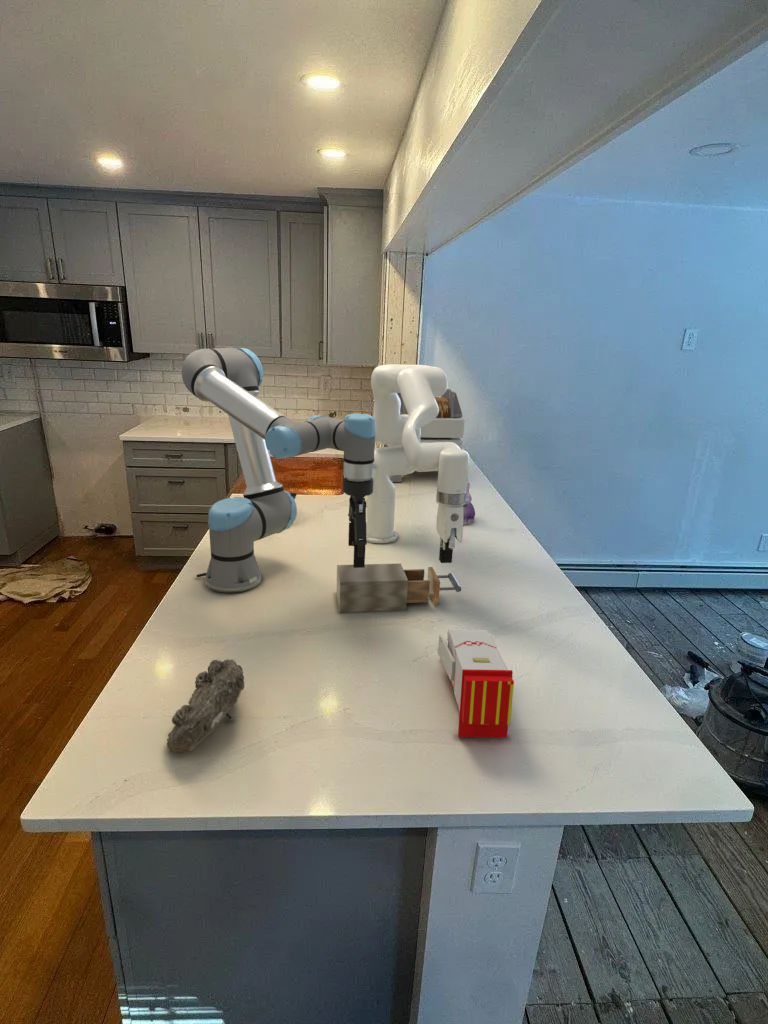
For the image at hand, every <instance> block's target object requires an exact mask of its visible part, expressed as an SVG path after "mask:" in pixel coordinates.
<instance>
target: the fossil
mask: <svg viewBox="0 0 768 1024" xmlns="http://www.w3.org/2000/svg"><path fill="white" fill-rule="evenodd" d="M243 670H244V669H243V667H242V665H240V664H237V662H236V661H235V660H234V659H232V658H231V659H227V658H226V659H224V660H223V661H222V660H217V659H212V660H211V661H210V663H209V665H208V666H207V671H201V672H199V673H198V674H197V675H196V676H195V680H194V684H195V685H194V687H195V689H194V690H193V693H192V694H191V697H190V698H189V700H188V704H184V705H182V706H181V707H180V709H177V710H176V711H175V713H174V715H173V716H172V718H171V723H172V724H173V727H172V730H171V731H170V732H168V734H167V738H166V741H167V742H166V745H167V749H168V750H169V751H173V752H174V753H176V754H178V753H182V752H188V751H189V752H192V751H193V750H195V748H196V747H197V746H199V744H200V743H201V742H203V741H204V740H205V739H206V738H207V737H208V736H209V735H210V734H211V733H212V732H214V730H215V729H217V727H218V726H219V724H220V722H221V721H222V720H223V719H224V718H225V716H226V717H227V719H229V720H233V717H232V715H230V714H229V710H230V709H231V708H234V706H235V704H236V703H237V702H238V699H239V697H240V695H241V693H242V691H243V690H245V689H244V688H245V675H244V671H243Z"/></svg>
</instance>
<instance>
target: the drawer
mask: <svg viewBox="0 0 768 1024" xmlns="http://www.w3.org/2000/svg"><path fill="white" fill-rule="evenodd" d="M403 570H404V572H405V575H406V577H407V579H408V588H407V603H406V604H413V603H429V600H430V599H431V601H432V603H433V605H439V603H440V592H441V591H455V593H460V592H461V591H462V586H461V585H460V583H459V581H458V579H457V578H456V576H455V575H454V573H453V572H449V573H448V574H440V575H438V574H437V573H436V571H435V569H434V567H433V566H428V568H427V577H426V579H425V569H424V568H417V569H415V568H414V569H413V568H412V569H403ZM440 579H448V581H449V582H450V584H451V587H449V586H448V587H445V586H444V587H441V580H440ZM429 598H430V599H429Z"/></svg>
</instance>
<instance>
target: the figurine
mask: <svg viewBox="0 0 768 1024" xmlns="http://www.w3.org/2000/svg"><path fill="white" fill-rule="evenodd" d="M470 488H471V482H470V481H467V488H466V499H465V505H463V526H466V525H470V524H472V523H473V522H474V520H475V516H476V510H475V509H476V508H475V507H474V505H473V503H472V500H473V498H472V495H471V493H470Z"/></svg>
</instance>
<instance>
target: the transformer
mask: <svg viewBox="0 0 768 1024" xmlns="http://www.w3.org/2000/svg"><path fill="white" fill-rule="evenodd" d="M397 395H398V396H399V398H400V401H401V409H400V415H403V414H408V413H407V410H406V407H405V404H404V401H403V399H402V396H401V393H397ZM435 400H436V403H437V405H438V408H439V413H438V415H437V417H436V418H435V419H434V420H433V421H432V422H430V423H429V424H427V425H425V426H423V427H421V437H420V443H431V442H453V443H455V444H457V445H458V447H459V448H460V449H462V450H463V442H464V441H463V440H462V439H463V438H464V431H465V430H464V429H465V419H464V418H463V411H462V408H461V405H460V402H459V398H458V395H457V392H455V391H453V390H452V389H451V388H447V390H446V392H445V393H444V395H442V396H438V397H435ZM398 446H402V444H383V447H398ZM389 479H390V480H391V482H392V483H402V482H403V475H394V476H389Z"/></svg>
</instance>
